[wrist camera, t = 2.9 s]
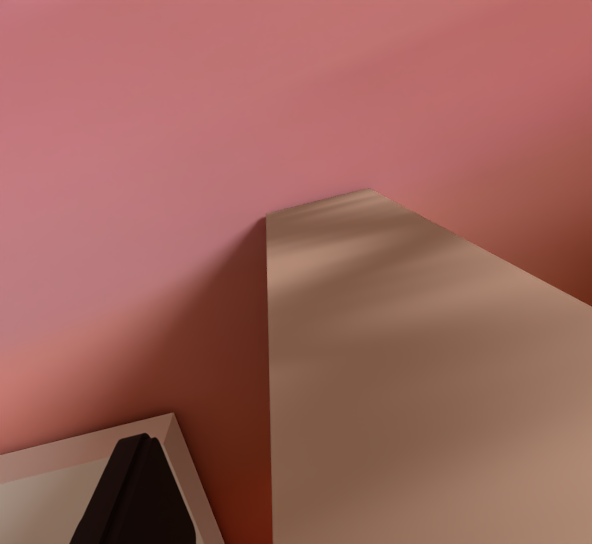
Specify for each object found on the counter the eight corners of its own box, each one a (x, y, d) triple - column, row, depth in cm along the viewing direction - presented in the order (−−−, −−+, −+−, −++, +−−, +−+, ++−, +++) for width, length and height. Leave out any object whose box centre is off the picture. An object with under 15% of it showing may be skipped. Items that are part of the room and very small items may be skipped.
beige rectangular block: (368, 188, 12) (955, 501, 2) (415, 441, 15) (753, 1135, 5) (265, 213, 12) (275, 669, 2) (331, 462, 15) (480, 1199, 5)
